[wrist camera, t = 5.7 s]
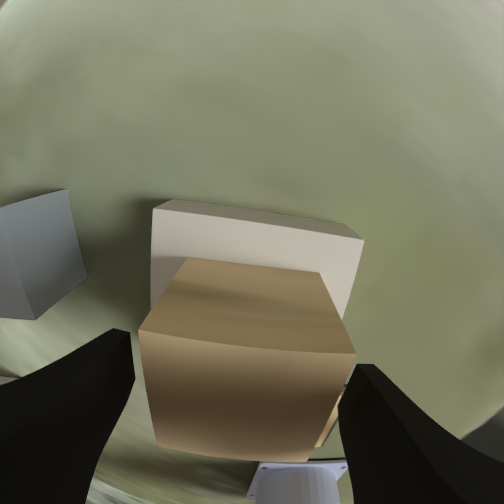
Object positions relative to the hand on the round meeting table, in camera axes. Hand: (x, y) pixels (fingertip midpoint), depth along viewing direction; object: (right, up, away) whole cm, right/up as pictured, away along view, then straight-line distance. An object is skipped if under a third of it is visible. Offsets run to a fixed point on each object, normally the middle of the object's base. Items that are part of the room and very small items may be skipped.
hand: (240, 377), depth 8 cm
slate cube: (-12, +5, +5) cm, 13 cm away
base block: (0, +2, +6) cm, 6 cm away
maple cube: (0, +1, +3) cm, 3 cm away
